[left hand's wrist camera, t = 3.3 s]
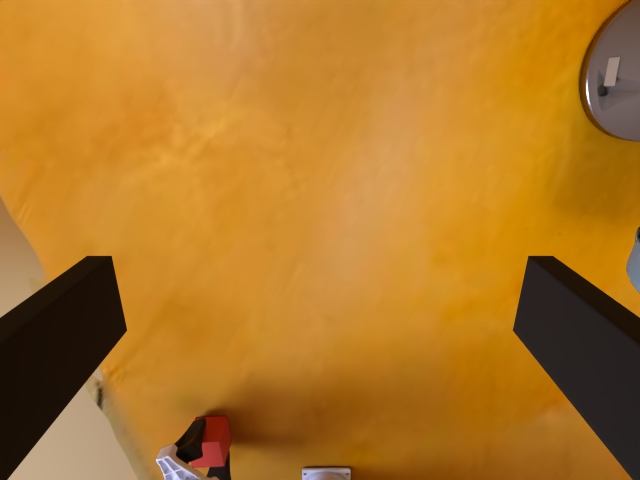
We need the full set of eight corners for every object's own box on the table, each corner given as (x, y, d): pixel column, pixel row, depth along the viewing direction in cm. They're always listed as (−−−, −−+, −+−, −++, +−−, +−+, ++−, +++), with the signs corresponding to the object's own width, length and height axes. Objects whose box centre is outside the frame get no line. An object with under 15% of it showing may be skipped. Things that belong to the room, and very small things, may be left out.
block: (195, 417, 60) (185, 443, 56) (226, 415, 60) (219, 441, 56) (201, 441, 62) (192, 468, 58) (231, 439, 62) (224, 466, 58)
